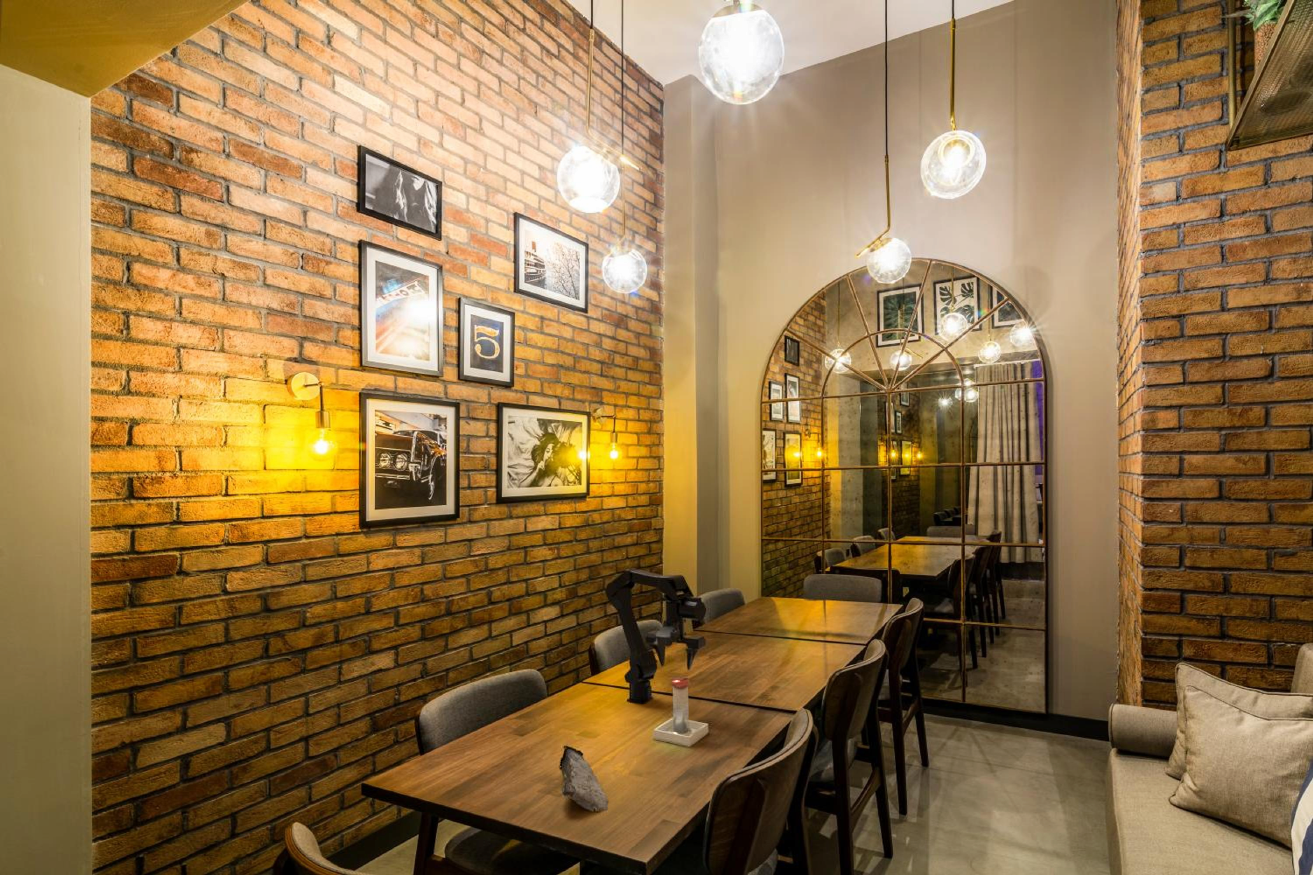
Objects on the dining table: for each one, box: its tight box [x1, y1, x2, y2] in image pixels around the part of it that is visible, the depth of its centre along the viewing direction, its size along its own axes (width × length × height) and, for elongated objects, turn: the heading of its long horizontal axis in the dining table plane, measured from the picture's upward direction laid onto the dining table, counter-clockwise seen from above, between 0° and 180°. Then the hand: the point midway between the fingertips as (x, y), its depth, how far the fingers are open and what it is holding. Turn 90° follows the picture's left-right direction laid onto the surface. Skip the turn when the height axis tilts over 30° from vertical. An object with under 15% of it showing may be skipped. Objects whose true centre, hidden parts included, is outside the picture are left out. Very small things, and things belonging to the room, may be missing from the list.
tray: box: [652, 717, 709, 748], centre depth 185 cm, size 11×11×2 cm
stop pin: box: [670, 676, 692, 736], centre depth 185 cm, size 6×6×15 cm
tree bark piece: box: [558, 745, 609, 812], centre depth 156 cm, size 27×9×10 cm
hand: (675, 667), depth 206 cm, fingers open, 9 cm apart
